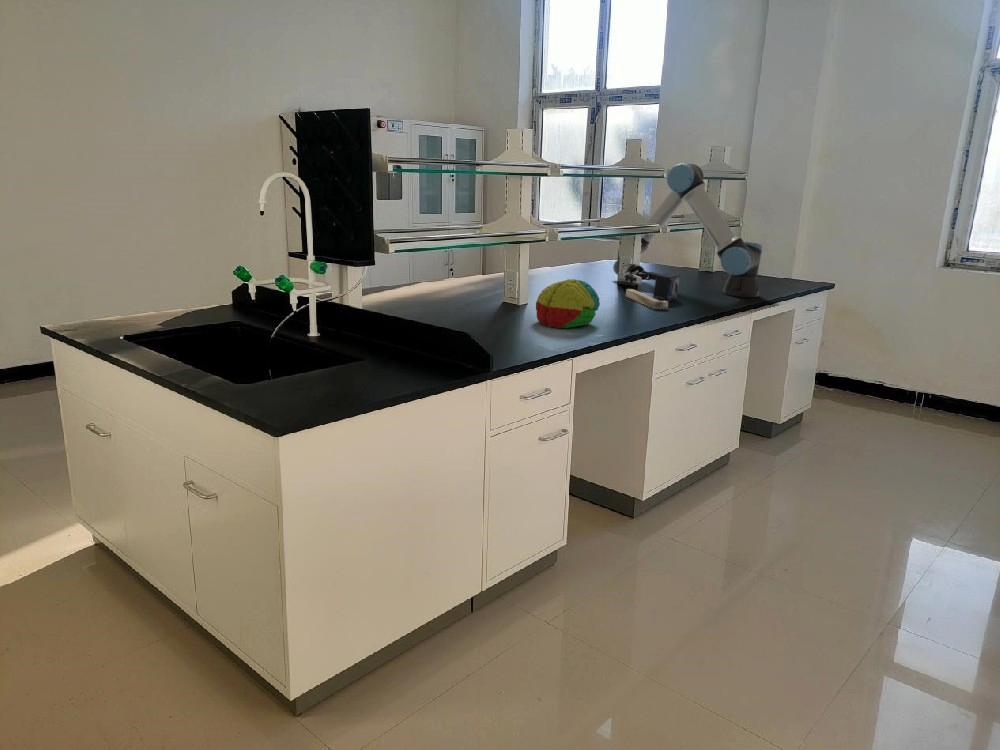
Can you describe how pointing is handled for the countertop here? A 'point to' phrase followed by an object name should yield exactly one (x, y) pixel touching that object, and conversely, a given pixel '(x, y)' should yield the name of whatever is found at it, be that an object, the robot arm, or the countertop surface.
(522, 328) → the countertop surface
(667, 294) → the small box
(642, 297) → the bar
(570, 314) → the brain model
